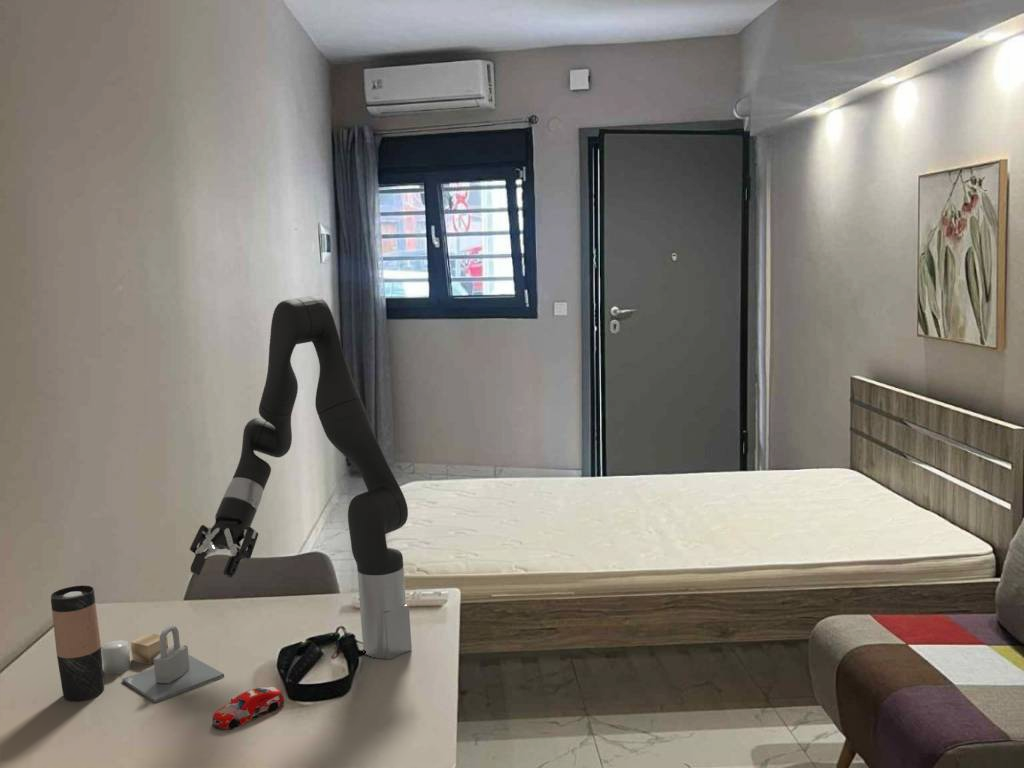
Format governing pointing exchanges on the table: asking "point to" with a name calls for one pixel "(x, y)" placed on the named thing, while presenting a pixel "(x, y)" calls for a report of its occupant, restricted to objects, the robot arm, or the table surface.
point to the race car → (248, 707)
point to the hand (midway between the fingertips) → (210, 574)
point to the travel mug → (77, 642)
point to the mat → (189, 680)
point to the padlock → (171, 658)
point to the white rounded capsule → (115, 657)
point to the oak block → (146, 648)
